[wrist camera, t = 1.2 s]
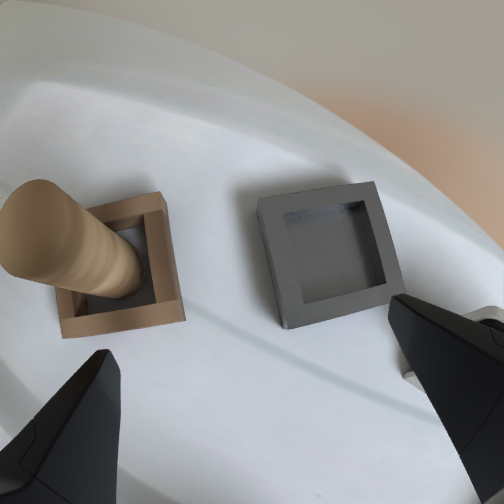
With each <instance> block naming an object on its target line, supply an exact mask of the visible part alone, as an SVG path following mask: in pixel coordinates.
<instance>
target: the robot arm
mask: <svg viewBox="0 0 504 504" xmlns="http://www.w3.org/2000/svg"><path fill="white" fill-rule="evenodd" d="M388 320H389V323H390V326H391V328H392V330H393V332H394V334H395V336H396V338H397V340H398V343H399V345H400V347H401V349H402V351H403V354H404V356H405V358H406V359H407V361H408V363H409V365H410V366H411V368H412V370H413V372H414V373H415V375H416V377H417V378H418V380H419V382H420V384H421V385H422V387H423V389H424V391H425V392H426V394H427V396H428V398H429V400H430V401H431V403H432V405H433V407H434V409H435V410H436V412H437V414H438V416H439V418H440V420H441V422H442V423H443V425H444V427H445V429H446V431H447V433H448V435H449V437H450V439H451V441H452V443H453V445H454V447H455V448H456V450H457V452H458V454H459V455H460V456H459V457H460V459H461V461H462V463H463V465H464V467H465V469H466V471H467V473H468V475H469V477H470V480H471V482H472V484H473V486H474V488H475V490H476V493H477V495H478V497H479V499H480V501H481V503H482V504H484V503H485V502H487V501H488V500H489V499H491V498H492V497H494V496H495V495H496V494H498V493H499V492H500V491H502V490H503V489H504V333H503V332H500V331H498V330H495V329H493V328H490V327H489V328H488V326H485V325H483V324H480V323H478V322H475V321H473V320H470V319H468V318H465V317H463V316H460V315H458V314H455V313H453V312H450V311H448V310H445V309H443V308H440V307H438V306H435V305H432V304H430V303H427V302H425V301H422V300H420V299H417V298H415V297H412V296H409V295H407V294H404V293H400V294H397V295H393V296H392V297H391V300H390V306H389V313H388ZM120 382H121V374H120V369H119V366H118V364H117V362H116V360H115V358H114V356H113V354H112V353H111V351H110V350H109V349H102V350H97V351H96V352H95V353H94V354H93V355H92V356H91V357H90V358H89V359H88V360H87V361H86V362H85V363H84V364H83V365H82V366H81V367H80V368H79V369H78V370H77V371H76V372H75V373H74V375H73V376H72V377H71V378H70V379H69V380H68V381H67V382H66V383H65V384H64V385H63V386H62V387H61V388H60V389H59V390H58V391H57V393H56V394H55V395H54V396H53V397H52V398H51V399H50V400H49V401H48V402H47V403H46V404H45V405H44V407H43V408H42V409H41V410H40V411H39V412H38V413H37V414H36V415H35V416H34V419H32V420H31V421H30V422H29V423H28V424H27V425H26V426H25V427H24V428H23V429H22V431H21V432H20V433H19V434H18V435H17V436H16V437H15V438H14V439H13V440H12V441H11V442H10V443H9V444H8V445H7V446H6V447H4V448H3V449H2V450H1V451H0V504H116V485H117V460H118V444H119V431H120V418H121V390H120Z"/></svg>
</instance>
